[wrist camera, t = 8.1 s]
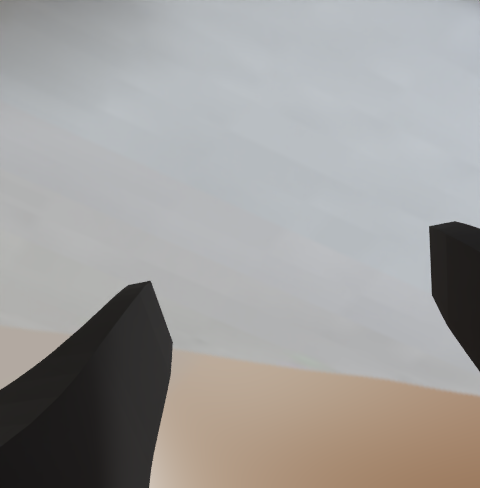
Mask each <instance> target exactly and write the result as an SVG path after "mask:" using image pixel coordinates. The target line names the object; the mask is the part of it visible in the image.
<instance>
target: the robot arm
mask: <svg viewBox="0 0 480 488" xmlns="http://www.w3.org/2000/svg"><path fill="white" fill-rule="evenodd" d="M429 233H430V257H431V282H432V296H433V298H434V300H435V302H436V304H437V306H438V308H439V310H440V312H441V314H442V316H443V318H444V320H445V322H446V324H447V326H448V327H449V329H450V330H451V332H452V333H453V335H454V336H455V337H456V339H457V340H458V342H459V343H460V345H461V346H462V347H463V349H464V350H465V352H466V353H467V354H468V356H469V357H470V359H471V360H472V361H473V363H474V364H475V366H476V367H477V368H478V370H479V371H480V229H479V228H476V227H473V226H470V225H467V224H463V223H459V222H455V221H454V222H449V223H444V224H439V225H434V226H429ZM172 344H173V342H172V339H171V336H170V333H169V331H168V328H167V325H166V322H165V320H164V317H163V314H162V311H161V308H160V306H159V303H158V300H157V297H156V294H155V292H154V289H153V286H152V283H151V281H147V282H142V283H137V284H132V285H128V286H127V287H125V288H124V289H123V290H121V291H120V292H119V293H118V294H117V295H116V296H115V297H113V298H112V299H111V300H110V301H109V302H108V303H107V304H106V305H105V306H104V307H103V308H102V309H101V310H100V311H98V312H97V313H96V314H95V315H94V316H93V317H92V318H91V319H90V320H89V321H88V322H87V323H86V324H84V325H83V326H82V327H81V328H80V329H79V330H78V331H77V332H75V333H74V334H73V335H72V336H71V337H70V338H69V339H67V340H66V341H65V342H64V343H63V344H61V345H60V347H58V348H57V349H56V350H55V351H53V352H52V353H51V354H50V355H48V356H47V357H46V358H45V359H43V360H42V361H41V362H40V363H38V364H37V365H36V366H34V367H33V368H32V369H30V370H29V371H27V372H26V373H25V374H23V375H22V376H20V377H19V378H18V379H16V380H15V381H13V382H12V383H10V384H9V385H7V386H6V387H4V388H3V389H1V390H0V488H149V483H150V473H151V467H152V461H153V455H154V450H155V444H156V441H157V436H158V431H159V426H160V422H161V418H162V413H163V408H164V404H165V399H166V394H167V390H168V384H169V380H170V374H171V362H172Z"/></svg>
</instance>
